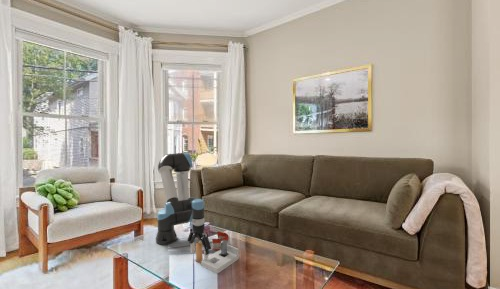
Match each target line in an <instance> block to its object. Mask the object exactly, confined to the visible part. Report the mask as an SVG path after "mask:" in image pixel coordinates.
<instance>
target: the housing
mask: <svg viewBox="0 0 500 289" xmlns="http://www.w3.org/2000/svg"><path fill="white" fill-rule="evenodd" d="M239 251H240V249H239V248H238V247H235V246H232V245H230V244H229V243H228V244H227V256H226V257H222V256H221V250H216V252H214V253H212V254H210V255H208V259H206V260H204V259H203V260H202V261H201V262H200V265H201V267H203V268H206V269H208V270H209V271H211V272H213V273H215V274H219V273H221V272H222V271H223V270H225V269H227V268H228V267H229V266H231V265H232V264H234V263H235V262H237V261H238V260H239V259H240V252H239Z"/></svg>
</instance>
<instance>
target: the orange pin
mask: <svg viewBox="0 0 500 289" xmlns="http://www.w3.org/2000/svg"><path fill="white" fill-rule="evenodd" d="M195 254H196V255H195V258H196V259H195V260H196V263H201V261H202V260H204V257H203V256H204V255H203V244H202V242H201V241H196V243H195Z"/></svg>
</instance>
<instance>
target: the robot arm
mask: <svg viewBox="0 0 500 289" xmlns="http://www.w3.org/2000/svg"><path fill="white" fill-rule="evenodd" d="M192 168H193V160H192V156H191V155H190V153H188V152H178V153H168V154H167V153H166V154H165V155H163V156H162V157H161V159H160V160H159V162H158V164H157V170H158V174H160V177H161V183H162V188H163V191H164V195H165V200H166V201H165V203H164V208H162V209H160V210H159V211H158V212H157V214H156V216H157V218H156V219H157V220H156V222H157V232H156V233H157V234H156V237H155V243H156V244H158V245H163V246H164V245H169V244H170V245H171V244H173V243H175V241H177V239H178V238H177V237H178V235H177V233H176V230H175V226H177V225H184V224H189V223H192V228H190V229H189V234H188V238H187V243H188V242H189V246H190V254H194V253H196V246H195V240H196V239H199V242H202V247H203V248H204V249H203V256H204V257H203V260H206V259H208V257H209V254H210V251H209V250H211V249H212V246H211V243H210V239H209V237H208V236H209V235H208V233H207V232H206V233H205V232H204V231H205V228H206V226H205V201H204V200H203V199H201V198H196V197H194V196H190V190H189V172H190V171H191V169H192ZM173 172H174V173H175V174H176V184H175V180H174V175H173Z"/></svg>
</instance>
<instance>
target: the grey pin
mask: <svg viewBox="0 0 500 289" xmlns="http://www.w3.org/2000/svg"><path fill="white" fill-rule="evenodd" d="M221 256H222V257H226V256H227V240H221Z"/></svg>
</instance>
